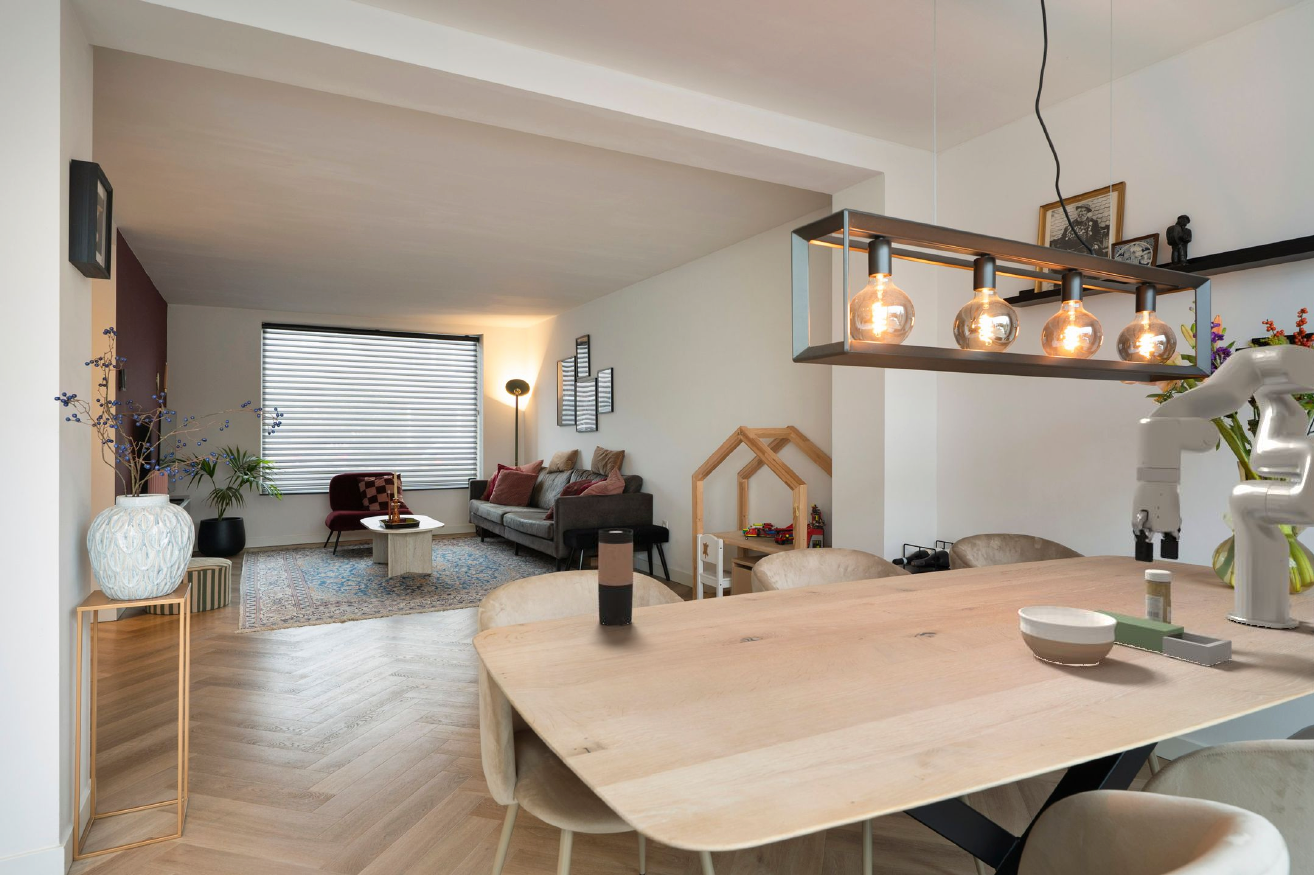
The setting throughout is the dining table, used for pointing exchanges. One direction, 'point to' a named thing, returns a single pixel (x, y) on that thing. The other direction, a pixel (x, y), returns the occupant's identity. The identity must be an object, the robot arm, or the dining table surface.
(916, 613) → the dining table surface
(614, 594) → the travel mug
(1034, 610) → the bowl
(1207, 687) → the dining table surface
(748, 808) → the dining table surface
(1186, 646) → the sliding drawer box
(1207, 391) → the robot arm
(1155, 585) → the sprinkles bottle
